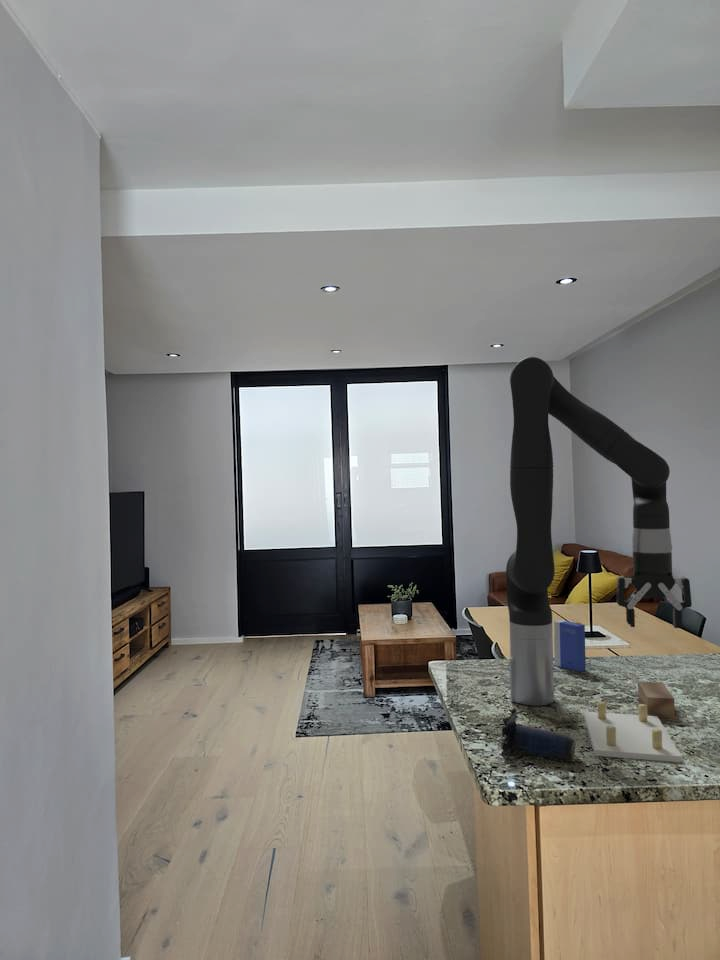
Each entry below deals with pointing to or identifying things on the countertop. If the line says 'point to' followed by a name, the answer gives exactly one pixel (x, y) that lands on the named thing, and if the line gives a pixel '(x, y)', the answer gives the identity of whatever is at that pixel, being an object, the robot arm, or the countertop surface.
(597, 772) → the countertop surface
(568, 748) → the beverage can
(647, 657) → the countertop surface
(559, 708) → the countertop surface
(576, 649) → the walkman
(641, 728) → the board
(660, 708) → the brown rectangular block
